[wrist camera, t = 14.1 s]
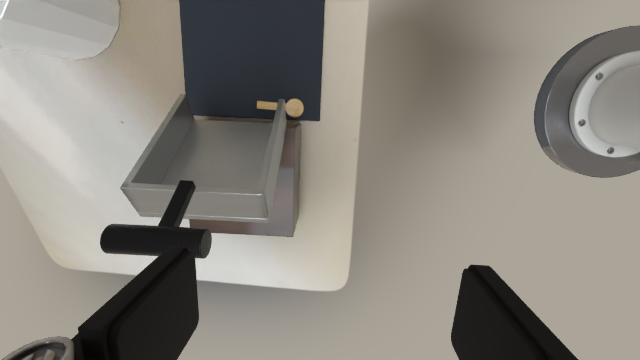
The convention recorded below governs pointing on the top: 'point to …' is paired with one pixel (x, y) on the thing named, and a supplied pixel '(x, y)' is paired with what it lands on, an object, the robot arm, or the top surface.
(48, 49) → the container
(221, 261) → the top surface
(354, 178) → the top surface
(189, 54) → the mat
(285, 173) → the stand
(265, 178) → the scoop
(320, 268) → the top surface
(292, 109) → the spoon
